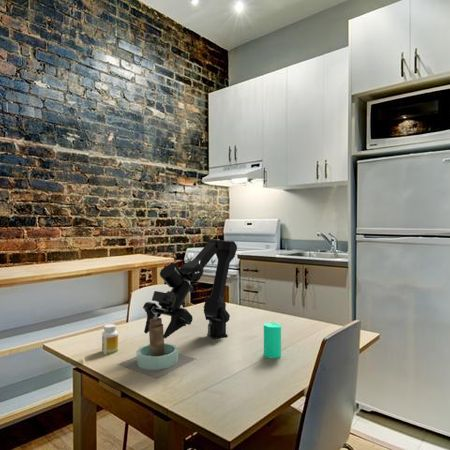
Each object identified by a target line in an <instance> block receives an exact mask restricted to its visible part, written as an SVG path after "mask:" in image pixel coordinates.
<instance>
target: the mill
mask: <svg viewBox="0 0 450 450" xmlns="http://www.w3.org/2000/svg"><path fill="white" fill-rule="evenodd" d="M162 321H163V320H162V317H157V316H154V317H153V318H152V319H150V325H149V332H148V334H149V335H148V336H149V344H150V356H163V355H165V351H164V343H165V338H163V335H164V333H165V331H164V324H163V322H162Z"/></svg>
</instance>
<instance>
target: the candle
mask: <svg viewBox="0 0 450 450" xmlns="http://www.w3.org/2000/svg"><path fill="white" fill-rule="evenodd" d="M271 321H272V322H267V323H265V324H263V356H264V357H265V358H268V359H269V358H270V359H278V358H281V356H282V325H281V324H279V323H277V322H274V320H271Z"/></svg>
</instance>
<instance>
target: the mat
mask: <svg viewBox="0 0 450 450" xmlns="http://www.w3.org/2000/svg"><path fill="white" fill-rule="evenodd" d="M196 359H197V358H196V357H192V356H188V355H185V354H181V353H179V352H178V361H177V363H176V364H175V365H173V366H171V367H169V368H165V369H160V370H146V369H143V368H141V367H139V366H138V365H137V355H136V356H134V357H132V358H129V359H126V360H124V361H122V362H120V363H117V366H121V367H124V368H127V369H129V370H132V371H135V372H136V373H137V372H138V373H140V374H144V375H146V376H149V377H151V378H154V379H160V378H161V377H163V376H165V375H167V374H169V373H171V372H173V371H175V370H177V369H179V368H181V367H183V366H184V365H187V364H189V363H191V362H193V361H195V360H196Z"/></svg>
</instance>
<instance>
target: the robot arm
mask: <svg viewBox="0 0 450 450" xmlns="http://www.w3.org/2000/svg"><path fill="white" fill-rule="evenodd" d="M237 250H238V245H237V243H236V242H235V241H234V240H221V239H219V238H218V239H217V238H216V239H215V238H211V239H208V242H207V244H205V246H204V247H203V248H202V249H201V250H200V252H198V254H197V255H196V256H195V257H194V258H193V259H191V260H189V261H187V262H186V263H184V264H182V265H181V267H178V264H177V263H176V262H170V263H169V264H168V265H165V266H164V267H163V268H162V269H161V270H160V272H159V277H160V278H161V279H162V280H163V282H165V283H166V285H167V286H168V287H169V288H171V290H169V291H167V292H163V291H158V290H157V291H156V290H154V291H153V295H152V298H151V301H146V302H145V303H144V304H143V306H142V309H143V310H144V312H145V313H146V322H145V326H144V330H143V332H144V333H145V334H149V325H150V319H152V318H153V317H154V316H157V317H158V318H161V315H165V316H169V317H170V322H169V324H168V325H167V327H166V329H165V331H164V335H163V338H164V340H165V339H167V338H168V337H170V336H171V335H172V334H174V333H175V332H176V331H178V330H179V329H181V328H183V327H186V326H187V325H189V326H190V325H191V324H192V322H193V320H194V319H193V315H192V314H191V313H190V312H189V310H188V309H187V308H183V307H181V306H185V304H186V303H185V299H186V298H187V296H188V294H189V293H194V292H195V290H194V289H195V288H194V286H193V284H191V283H190V282H192V283H193V282H194V283H197V282H198V281H200V279H201V278H202V276H203V274H204V268H205V267H206V266H207V264H208V263H209V262H210V261H211V259H213V257H214V256H215V255H216V258H217V266H216V270H215V276H214V279H213V285H212V289H211V294H210V296H209V297H206V298H205V299H204V305H203V313H204V317H205V320H206V321H208V324H207V335H208V337H211V339H218V338H219V339H220V338H225V337H228V336H229V335H228V334H227V323H228V322H229V321H230V317H231V315H230V313H229V312H228V310H227V309H226V307H227V304H226V301H225V297H224V295H225V290H226V284H227V279H228V275H229V269H230V263H231V262H232V261H233V259H234V258H235V257H236V254H237ZM152 301H153V302H152ZM156 302H157V304H156Z"/></svg>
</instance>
